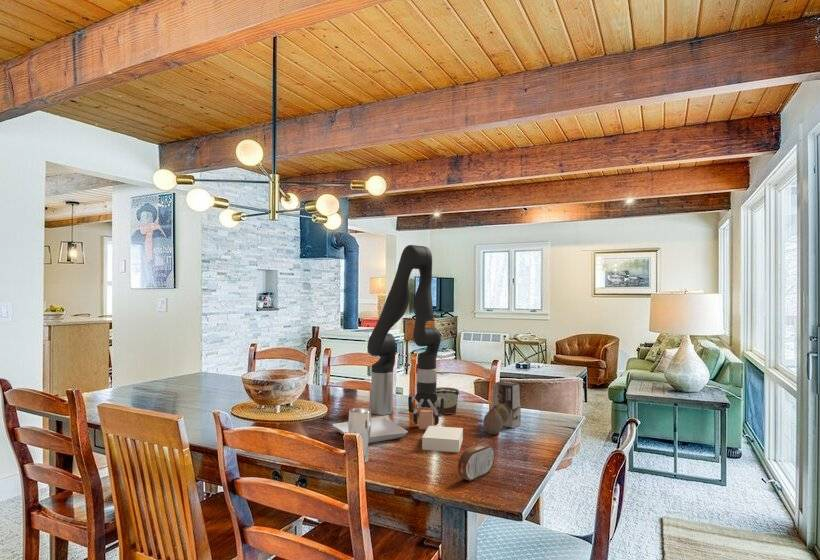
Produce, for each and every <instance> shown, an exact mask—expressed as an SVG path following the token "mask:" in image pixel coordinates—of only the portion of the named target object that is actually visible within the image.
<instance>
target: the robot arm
mask: <svg viewBox="0 0 820 560" xmlns="http://www.w3.org/2000/svg"><path fill="white" fill-rule="evenodd" d="M413 270H418V272H419V283H418V286H417V289H416V292H415V295H414V298H413V299H414V300H413V301H414V302H413V305H414V306H413V307H414V313H415V314H414V316H415V318H414V320H415V321H414V327H413V332H412V335H413V336H412V337H413V341H414V343H415V345H416V346H418V347H421V348H422V347H426V349H425V350H424V351H421V352H420V353H419V354H418V355H417V371H416V394H415V395H411V394H409V396H408V397H407V403H408V412H409V413H412V415H413V416H412V417H413V419H412V420H413V423H414V424H415V425H417V424H419V413H418V411H419V410H420V408H427V409H430V408H431V411H433V414H434V415H433V420H434V421H433V426H438V424H439V420H440V419H439V418H440V417H439V416H440V415H443V412H444V401H445V398H444V397H442V398H441V397H437V395H436V388H437V383H438V381H437V380H438V378H437V377H438V376H437V357H438V354H439V348H440V346H441V340H442V334H441V331H440V329H438V328H437V327H426V325H427V322H431V321H433V320H434V317H435V315H434V314H435V313H434V308H433V298H432V279H433V255H432V251H431V249H430V248H429V247H428V246H422V245H414V244H409V245H407V246H405V247H404V249H403V250H402V253H401V255H400V258H399V261H398V266H397V268H396V272H395V273H396V274H395V277H394V278H393V282H392V284H391V287H390V290H389V292H388V294H387V298H386V299H385V303H384V305H383V308H382V310H381V313H380V315H379V318H378V319H377V322H376V323H375V325H374V328H373V330H372V332H371V334H370V335H369V338H368V341H367V351H368V353H369V355H370V356H373V357H379V359H378V360H377V361H376V362H375V363H372V365H371V370H370V371H371V372H370V373H371V375H370V376H371V378H370V379H371V381H370V390H369V405H368V406H369V408H368V409H370V410H371V414H372V415H377V416H378V415H379V416H380V415H382V416H383V415H386V416H387V415H390V414H393V411H394V410H393V408H394V407H393V403H394V401H393V400H394V399H393V397H394V367H395V364H396V353H397V352H396V350H397V344H396V343H397V342H396V337H394V335H393V334H391V333H389V332H390V330H391V329H392V327H394V326H395V325H396V324H397V323H398V322H399V320H401V319H402V318H403V317H404V316H405V314H406V313H407V309H408V307H409V304H410V302H411V290H410V287H409V279H410V276H411V274H412V272H413ZM437 400H438V401H439V403H440V410H439V411H438V409H437V407H436V405H435V402H436V401H437ZM414 401H416V402H417V403H418V404H417V405H416V407H415V408H414V404H413V402H414Z"/></svg>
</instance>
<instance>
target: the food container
mask: <svg viewBox="0 0 820 560" xmlns="http://www.w3.org/2000/svg"><path fill="white" fill-rule="evenodd" d="M436 395H437V397H441V398H442V397H444V398H445V401H444V412H443V413H445V415H450V414H451V415H456V414H457V408H458V397H459V396H460V391H459V389H457V388H454V387H449V386H447V387H446V386H445V387H444V386H441V387H436ZM435 405H436V407H437V409H438V411H439V410H440V403H439V401H438V400H437V401H436V402H435Z"/></svg>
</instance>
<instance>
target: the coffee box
mask: <svg viewBox="0 0 820 560" xmlns="http://www.w3.org/2000/svg"><path fill="white" fill-rule="evenodd" d="M521 385H522V383H518V382H517V383H516V382H510V381H503V380H501V381H496V382H494V383H492V386H493V387H492V388H493V389H492V390H493V391H492V394H493V395H492V403H493V404H492V405H493V407H492V408H495V409H496V410H497V412H498V413H499V415H500V416H501V418H502V427H507V428H511V429H513V428H517V427H520V426H521V419H522V414H521V412H522V411H521V410H522V409H521V406H522V405H521V403H522V401H521V397H522V396H521V394H522V393H521V392H522V391H521V388H522V387H521Z"/></svg>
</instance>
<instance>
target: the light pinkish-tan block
mask: <svg viewBox="0 0 820 560" xmlns="http://www.w3.org/2000/svg"><path fill="white" fill-rule="evenodd" d="M433 420H434V411H433V410H429V409H428V410H425V409H422V410H420V411H419V413H418V429H420V430H427V428H428V427H429V426H434V421H433Z"/></svg>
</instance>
